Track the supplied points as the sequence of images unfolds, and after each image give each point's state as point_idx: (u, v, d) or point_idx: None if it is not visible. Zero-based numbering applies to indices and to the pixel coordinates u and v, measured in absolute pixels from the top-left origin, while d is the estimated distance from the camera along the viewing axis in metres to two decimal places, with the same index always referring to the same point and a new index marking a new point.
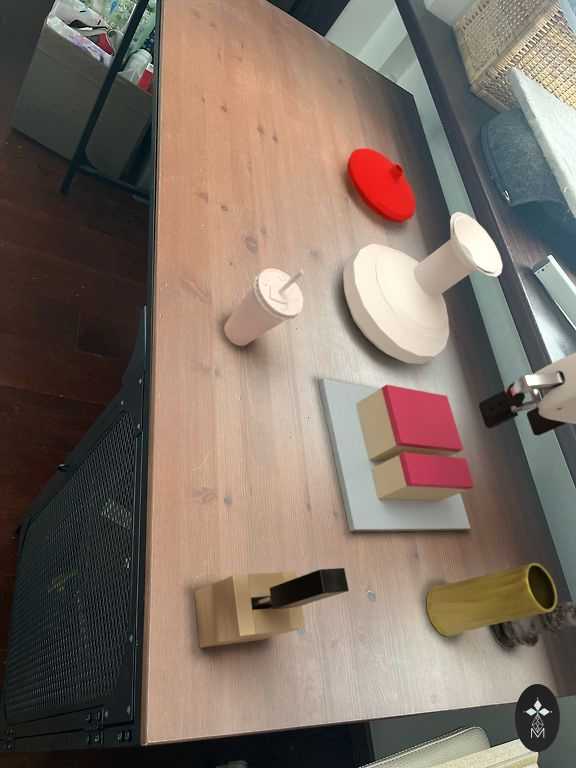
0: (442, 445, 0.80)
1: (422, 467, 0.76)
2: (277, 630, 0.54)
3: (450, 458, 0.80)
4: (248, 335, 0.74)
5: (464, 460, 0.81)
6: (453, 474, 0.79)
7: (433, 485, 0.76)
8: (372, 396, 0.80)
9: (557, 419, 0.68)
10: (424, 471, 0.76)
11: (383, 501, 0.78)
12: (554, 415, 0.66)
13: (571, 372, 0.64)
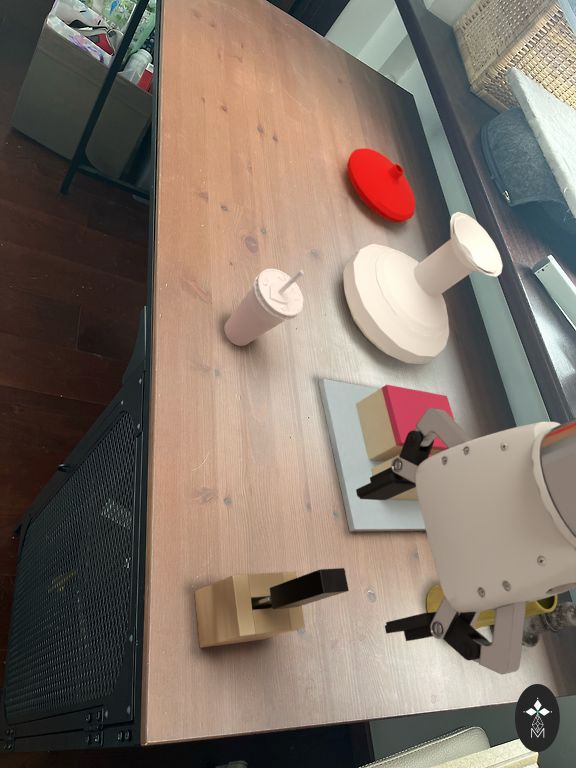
0: (442, 445, 0.80)
1: None
2: (277, 630, 0.54)
3: None
4: (248, 335, 0.74)
5: None
6: None
7: None
8: (372, 396, 0.80)
9: None
10: None
11: (383, 501, 0.78)
12: None
13: (537, 598, 0.36)
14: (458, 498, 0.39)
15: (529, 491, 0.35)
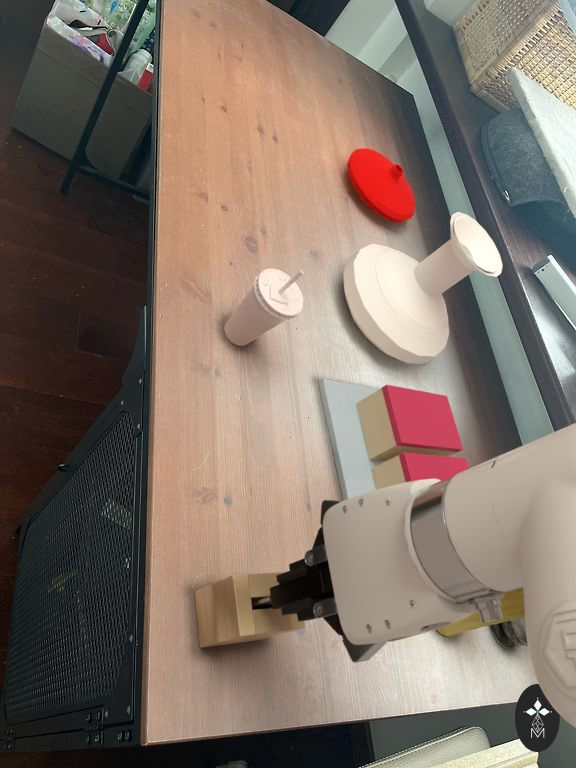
0: (442, 445, 0.80)
1: (422, 467, 0.76)
2: (277, 630, 0.54)
3: (450, 458, 0.80)
4: (248, 335, 0.74)
5: (464, 460, 0.81)
6: (453, 474, 0.79)
7: None
8: (372, 396, 0.80)
9: None
10: (424, 471, 0.76)
11: None
12: None
13: (416, 633, 0.41)
14: (353, 544, 0.44)
15: (404, 543, 0.40)
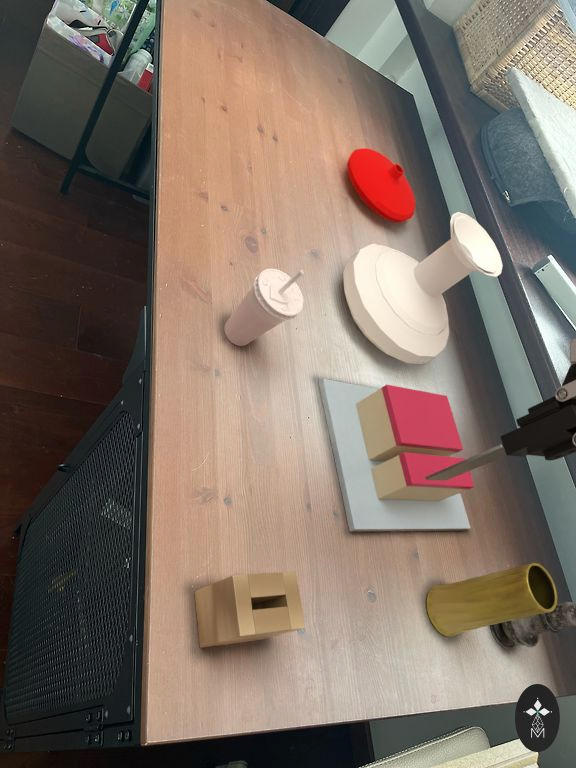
0: (442, 445, 0.80)
1: (422, 467, 0.76)
2: (277, 630, 0.54)
3: (450, 458, 0.80)
4: (248, 335, 0.74)
5: None
6: None
7: (433, 485, 0.76)
8: (372, 396, 0.80)
9: None
10: (424, 471, 0.76)
11: (383, 501, 0.78)
12: None
13: None
14: None
15: None
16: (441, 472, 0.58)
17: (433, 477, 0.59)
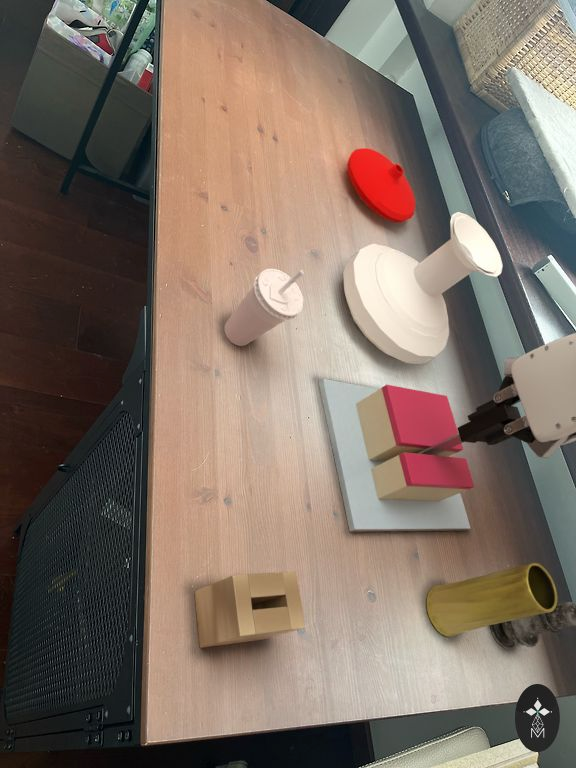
0: None
1: (422, 467, 0.76)
2: (277, 630, 0.54)
3: (450, 458, 0.80)
4: (248, 335, 0.74)
5: (464, 460, 0.81)
6: (453, 474, 0.79)
7: (433, 485, 0.76)
8: (372, 396, 0.80)
9: None
10: (424, 471, 0.76)
11: (383, 501, 0.78)
12: None
13: None
14: (542, 375, 0.66)
15: None
16: None
17: None
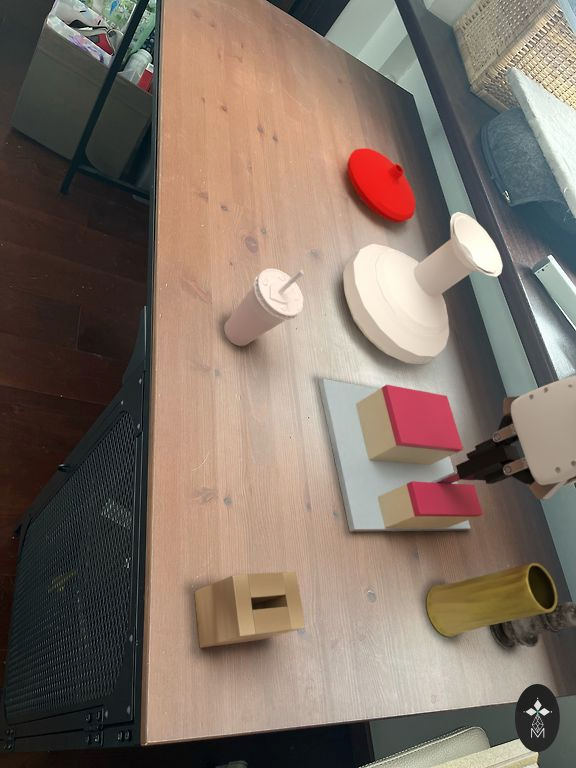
0: (442, 445, 0.80)
1: (431, 496, 0.74)
2: (277, 630, 0.54)
3: (458, 485, 0.78)
4: (248, 335, 0.74)
5: (472, 487, 0.80)
6: (461, 502, 0.77)
7: (441, 514, 0.74)
8: (372, 396, 0.80)
9: None
10: (432, 500, 0.74)
11: None
12: None
13: None
14: (541, 418, 0.65)
15: None
16: None
17: None
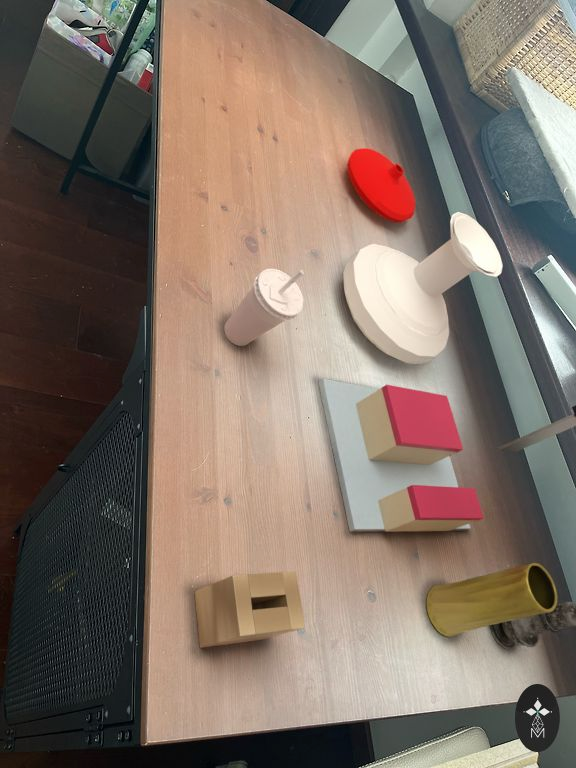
0: (442, 445, 0.80)
1: (431, 500, 0.74)
2: (277, 630, 0.54)
3: (459, 489, 0.78)
4: (248, 335, 0.74)
5: (473, 490, 0.80)
6: (462, 506, 0.77)
7: (442, 518, 0.74)
8: (372, 396, 0.80)
9: None
10: (433, 504, 0.74)
11: None
12: None
13: None
14: None
15: None
16: (513, 442, 0.64)
17: (505, 448, 0.65)
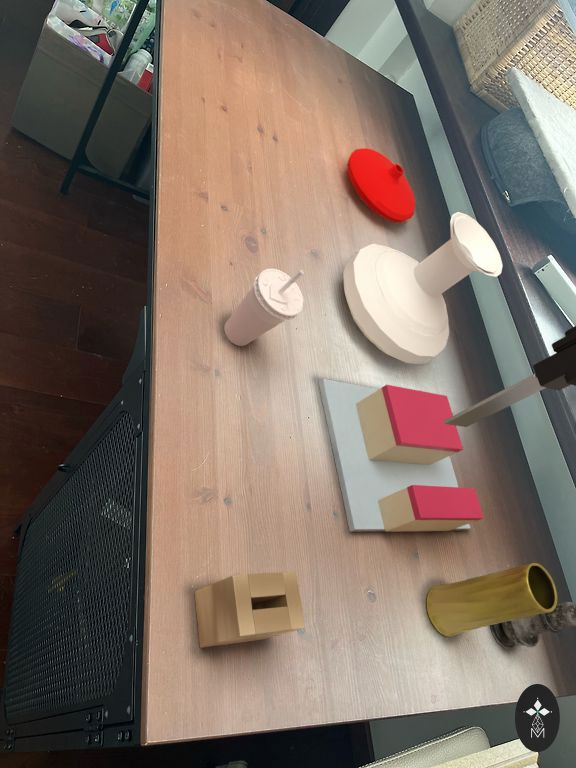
0: (442, 445, 0.80)
1: (431, 500, 0.74)
2: (277, 630, 0.54)
3: (459, 489, 0.78)
4: (248, 335, 0.74)
5: (473, 490, 0.80)
6: (462, 506, 0.77)
7: (442, 518, 0.74)
8: (372, 396, 0.80)
9: None
10: (433, 504, 0.74)
11: None
12: None
13: None
14: None
15: None
16: (462, 413, 0.51)
17: (453, 420, 0.52)
